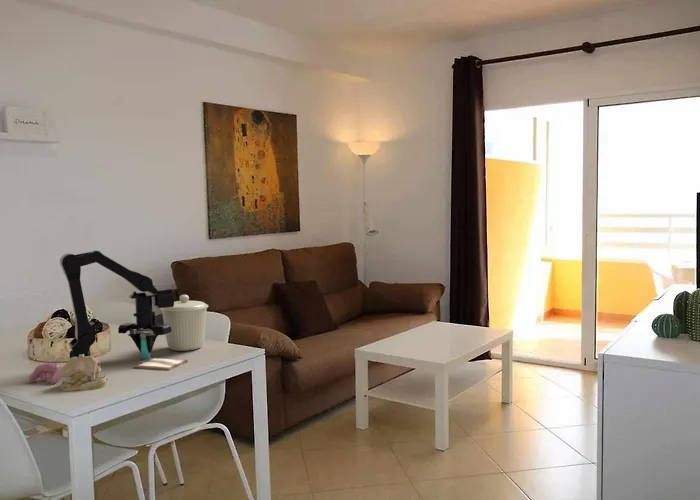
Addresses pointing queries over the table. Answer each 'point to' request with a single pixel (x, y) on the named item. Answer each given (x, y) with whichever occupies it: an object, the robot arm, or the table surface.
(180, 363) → the clipboard
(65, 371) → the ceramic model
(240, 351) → the table surface
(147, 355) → the marker
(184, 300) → the canister
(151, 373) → the table surface
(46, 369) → the pink lumpy arch
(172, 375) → the table surface
